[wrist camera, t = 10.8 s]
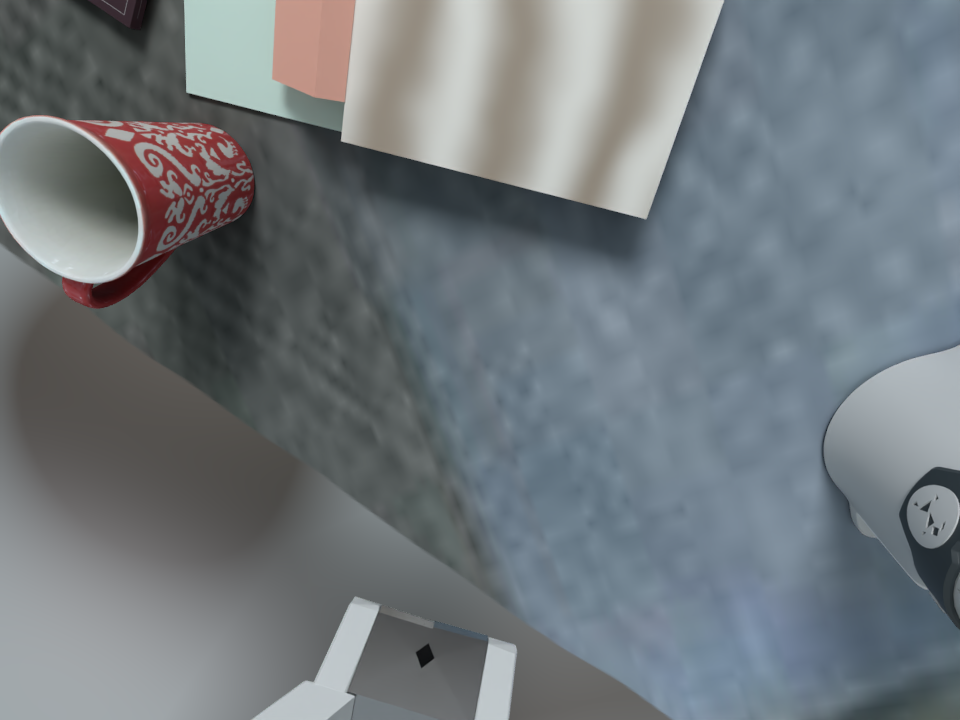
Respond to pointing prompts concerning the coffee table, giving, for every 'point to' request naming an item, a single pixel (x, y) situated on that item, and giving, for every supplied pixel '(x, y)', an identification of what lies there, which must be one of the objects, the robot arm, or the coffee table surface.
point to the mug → (116, 196)
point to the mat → (245, 62)
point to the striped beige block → (530, 89)
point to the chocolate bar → (124, 11)
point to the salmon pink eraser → (313, 46)
